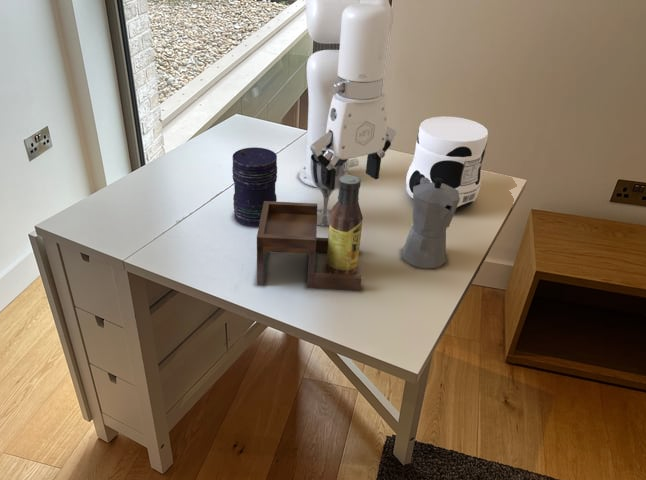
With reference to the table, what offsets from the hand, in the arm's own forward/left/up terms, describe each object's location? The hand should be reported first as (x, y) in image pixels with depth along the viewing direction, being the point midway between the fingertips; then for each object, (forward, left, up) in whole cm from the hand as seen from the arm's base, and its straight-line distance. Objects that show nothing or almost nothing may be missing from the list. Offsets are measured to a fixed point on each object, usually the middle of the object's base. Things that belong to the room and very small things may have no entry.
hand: (350, 181), depth 107 cm
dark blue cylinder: (+6, -27, -20) cm, 34 cm away
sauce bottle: (0, 0, -20) cm, 20 cm away
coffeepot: (-18, +3, -20) cm, 27 cm away
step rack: (+5, -4, -20) cm, 21 cm away
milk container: (-38, -14, -20) cm, 45 cm away
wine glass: (-8, -19, -20) cm, 29 cm away
